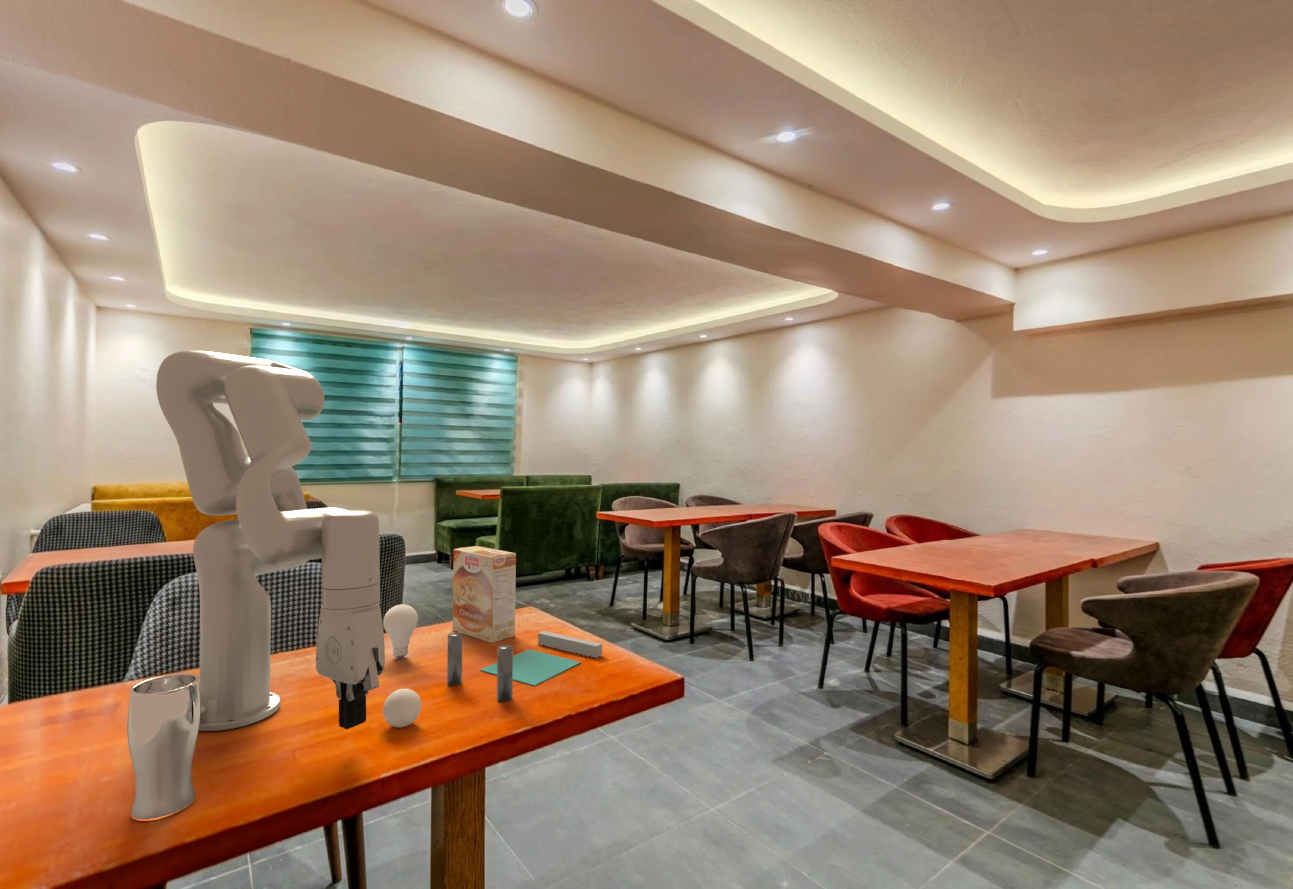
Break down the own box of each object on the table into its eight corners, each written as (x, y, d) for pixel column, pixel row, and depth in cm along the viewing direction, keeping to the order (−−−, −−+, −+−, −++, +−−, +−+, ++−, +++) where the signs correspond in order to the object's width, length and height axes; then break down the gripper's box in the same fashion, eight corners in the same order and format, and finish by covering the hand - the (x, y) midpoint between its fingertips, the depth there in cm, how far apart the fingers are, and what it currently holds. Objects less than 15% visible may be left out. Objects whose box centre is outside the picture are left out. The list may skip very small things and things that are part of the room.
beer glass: (149, 830, 69) (150, 699, 69) (112, 816, 71) (114, 689, 71) (212, 797, 75) (214, 677, 75) (176, 785, 78) (178, 669, 78)
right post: (504, 703, 103) (505, 650, 103) (493, 699, 105) (494, 648, 105) (515, 697, 106) (516, 646, 106) (504, 694, 107) (505, 643, 107)
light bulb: (382, 655, 126) (383, 602, 126) (416, 650, 129) (416, 599, 129) (383, 665, 120) (383, 610, 120) (418, 661, 123) (419, 607, 123)
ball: (398, 737, 91) (398, 700, 91) (374, 728, 94) (375, 692, 94) (428, 723, 96) (429, 687, 96) (405, 714, 99) (406, 680, 99)
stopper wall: (596, 658, 126) (596, 646, 126) (538, 644, 134) (538, 633, 134) (601, 655, 127) (602, 643, 127) (543, 642, 136) (544, 630, 136)
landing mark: (534, 686, 111) (534, 685, 111) (480, 670, 118) (480, 669, 118) (580, 663, 123) (580, 662, 123) (529, 650, 130) (529, 649, 130)
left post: (453, 687, 110) (454, 637, 110) (444, 684, 111) (444, 635, 111) (464, 682, 112) (465, 634, 112) (455, 679, 114) (455, 631, 114)
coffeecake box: (451, 630, 143) (452, 548, 143) (475, 624, 149) (477, 545, 149) (491, 644, 134) (492, 556, 134) (516, 636, 140) (517, 552, 140)
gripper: (296, 596, 88) (297, 723, 87) (359, 609, 80) (360, 748, 80) (345, 586, 94) (346, 704, 94) (407, 597, 86) (408, 725, 86)
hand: (352, 724), depth 87 cm, fingers closed
